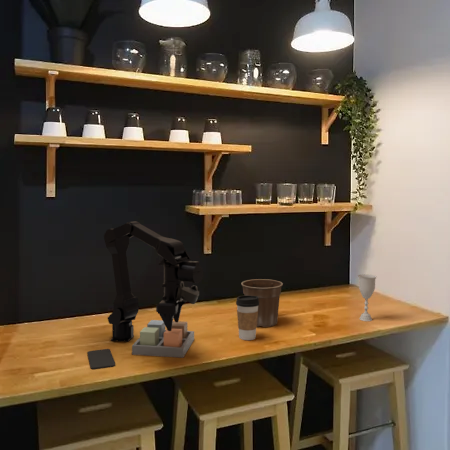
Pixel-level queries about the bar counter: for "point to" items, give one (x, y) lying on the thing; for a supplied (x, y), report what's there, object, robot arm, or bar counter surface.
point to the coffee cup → (247, 316)
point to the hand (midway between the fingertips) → (173, 326)
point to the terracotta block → (173, 338)
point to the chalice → (366, 292)
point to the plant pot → (265, 299)
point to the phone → (100, 359)
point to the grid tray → (161, 340)
